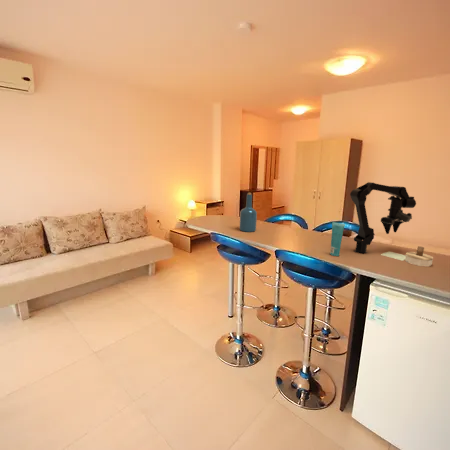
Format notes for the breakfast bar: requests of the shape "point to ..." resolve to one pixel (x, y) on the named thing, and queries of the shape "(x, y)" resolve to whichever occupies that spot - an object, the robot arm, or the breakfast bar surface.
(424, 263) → the bowl
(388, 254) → the mat
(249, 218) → the wine bottle
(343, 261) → the breakfast bar surface
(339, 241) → the tube
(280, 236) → the breakfast bar surface
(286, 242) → the breakfast bar surface
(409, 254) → the lid
